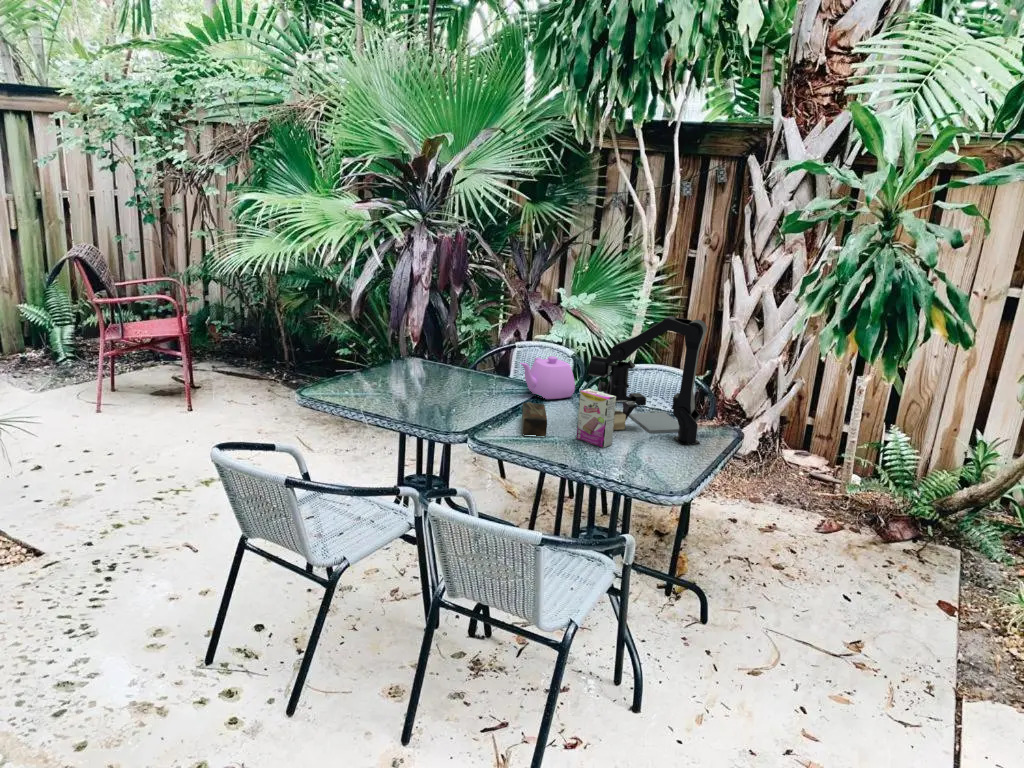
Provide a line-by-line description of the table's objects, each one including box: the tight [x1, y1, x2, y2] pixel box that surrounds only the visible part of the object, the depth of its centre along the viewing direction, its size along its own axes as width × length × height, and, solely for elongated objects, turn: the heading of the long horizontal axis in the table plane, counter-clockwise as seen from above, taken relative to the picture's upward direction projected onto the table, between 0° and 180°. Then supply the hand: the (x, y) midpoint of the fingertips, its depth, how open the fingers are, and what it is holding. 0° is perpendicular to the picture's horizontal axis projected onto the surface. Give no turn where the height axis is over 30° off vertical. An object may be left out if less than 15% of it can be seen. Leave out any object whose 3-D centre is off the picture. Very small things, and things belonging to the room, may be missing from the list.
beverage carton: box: [521, 401, 548, 437], centre depth 252 cm, size 8×19×7 cm, turn 0°
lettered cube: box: [613, 410, 627, 431], centre depth 255 cm, size 5×5×5 cm
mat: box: [628, 411, 679, 434], centre depth 263 cm, size 18×14×1 cm
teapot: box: [519, 355, 576, 400], centre depth 288 cm, size 23×21×15 cm
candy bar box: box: [575, 388, 617, 449], centre depth 239 cm, size 11×5×16 cm, turn 47°
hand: (615, 424), depth 255 cm, fingers closed on lettered cube, 5 cm apart
